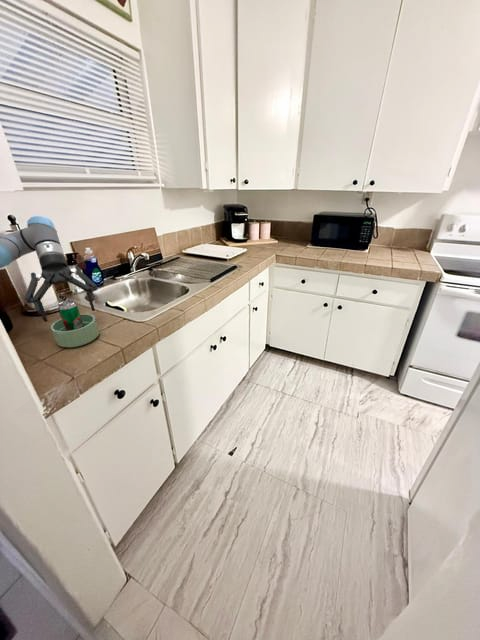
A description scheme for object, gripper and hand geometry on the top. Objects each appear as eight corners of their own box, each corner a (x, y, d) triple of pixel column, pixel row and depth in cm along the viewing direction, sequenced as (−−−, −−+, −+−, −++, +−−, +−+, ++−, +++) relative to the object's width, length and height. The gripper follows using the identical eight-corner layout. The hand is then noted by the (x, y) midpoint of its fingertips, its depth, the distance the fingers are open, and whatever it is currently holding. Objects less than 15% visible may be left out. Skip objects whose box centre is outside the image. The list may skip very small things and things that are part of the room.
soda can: (81, 341, 82) (69, 306, 77) (65, 340, 83) (52, 306, 77) (89, 332, 87) (79, 300, 81) (74, 332, 87) (63, 299, 81)
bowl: (47, 347, 80) (40, 330, 78) (74, 328, 91) (69, 312, 88) (84, 350, 79) (78, 333, 76) (107, 330, 90) (102, 314, 87)
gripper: (1, 258, 79) (18, 320, 75) (91, 247, 91) (111, 300, 88) (9, 270, 85) (26, 329, 81) (93, 259, 98) (111, 309, 94)
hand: (70, 314), depth 85 cm, fingers open, 13 cm apart
